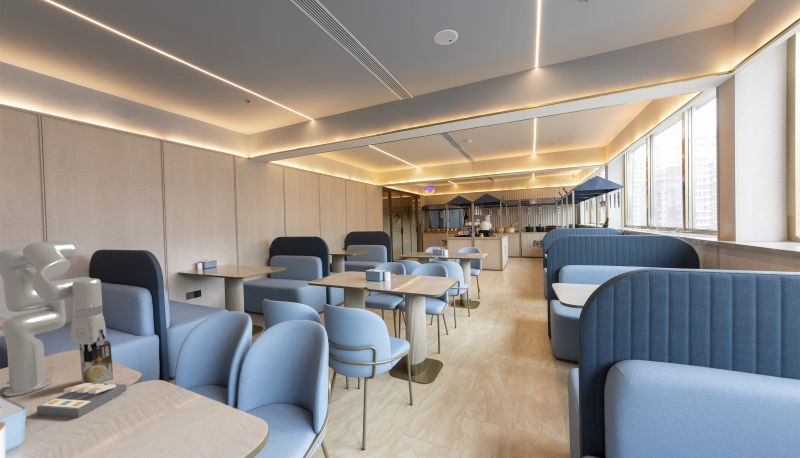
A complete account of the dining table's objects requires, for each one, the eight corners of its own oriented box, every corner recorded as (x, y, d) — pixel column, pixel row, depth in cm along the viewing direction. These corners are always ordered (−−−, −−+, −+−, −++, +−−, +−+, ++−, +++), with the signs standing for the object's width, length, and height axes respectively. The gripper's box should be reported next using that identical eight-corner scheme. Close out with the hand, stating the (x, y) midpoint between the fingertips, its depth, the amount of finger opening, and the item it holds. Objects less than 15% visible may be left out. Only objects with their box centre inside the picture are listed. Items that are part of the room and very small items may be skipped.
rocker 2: (75, 392, 112) (76, 389, 112) (96, 386, 119) (97, 383, 119) (83, 392, 112) (83, 389, 112) (104, 386, 119) (104, 383, 119)
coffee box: (110, 374, 136) (108, 339, 135) (113, 378, 132) (111, 342, 131) (81, 383, 128) (79, 346, 128) (83, 388, 124) (81, 350, 124)
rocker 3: (87, 393, 111) (88, 389, 112) (108, 386, 118) (108, 383, 118) (95, 393, 111) (96, 390, 111) (115, 387, 118) (116, 384, 118)
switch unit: (37, 414, 107) (36, 404, 107) (89, 389, 123) (89, 380, 123) (78, 417, 104) (78, 407, 104) (126, 391, 120) (126, 382, 120)
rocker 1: (63, 391, 113) (64, 388, 113) (85, 385, 120) (85, 382, 120) (71, 392, 113) (71, 388, 113) (92, 386, 119) (93, 383, 120)
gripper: (59, 314, 108) (61, 364, 109) (93, 315, 106) (96, 366, 107) (83, 308, 116) (86, 355, 116) (116, 309, 114) (118, 356, 114)
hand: (91, 360), depth 111 cm, fingers closed
